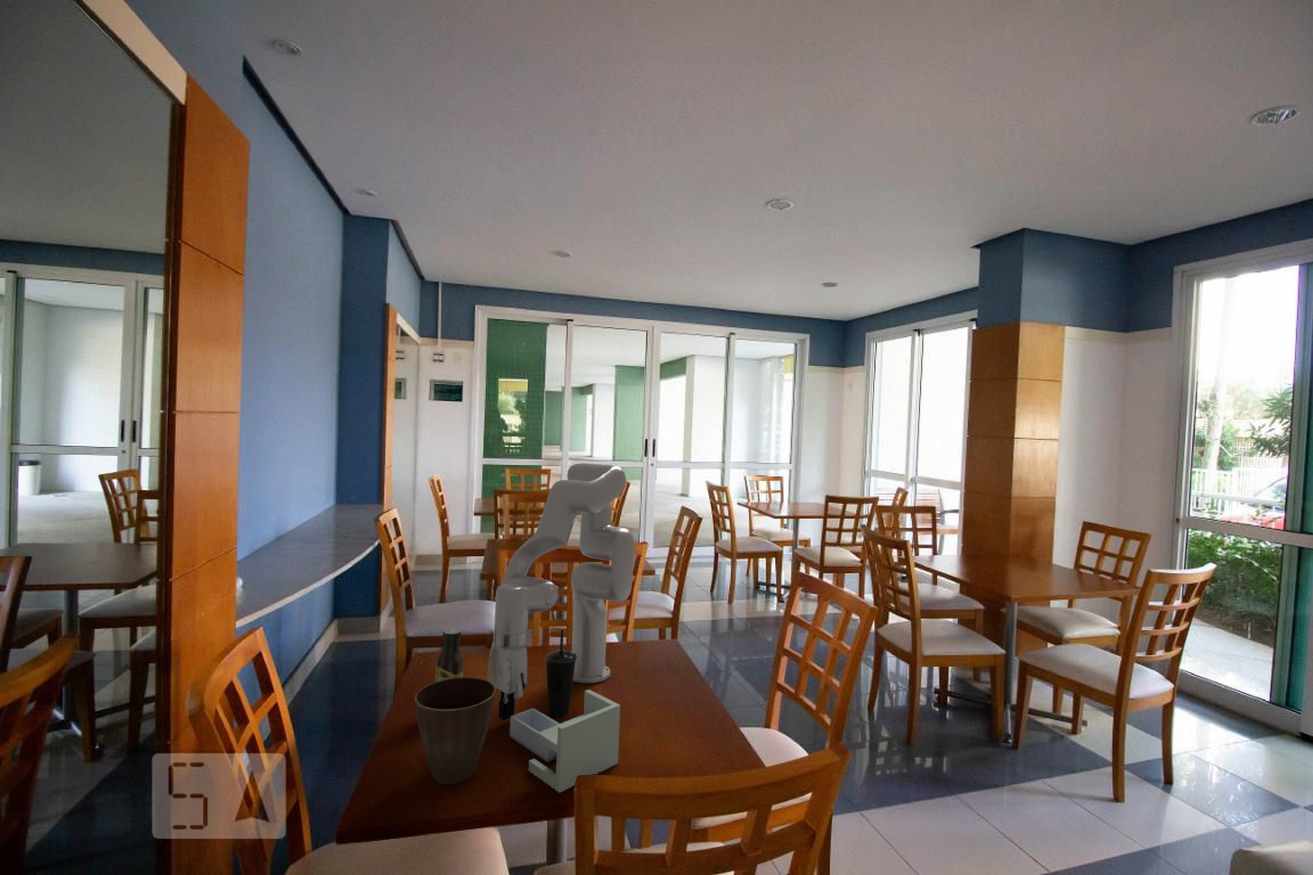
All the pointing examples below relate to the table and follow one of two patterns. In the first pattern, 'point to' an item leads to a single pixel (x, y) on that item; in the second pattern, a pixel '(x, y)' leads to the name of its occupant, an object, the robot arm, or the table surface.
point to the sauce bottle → (450, 656)
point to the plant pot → (454, 725)
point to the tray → (532, 732)
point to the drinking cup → (559, 680)
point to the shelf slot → (581, 743)
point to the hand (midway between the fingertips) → (506, 717)
